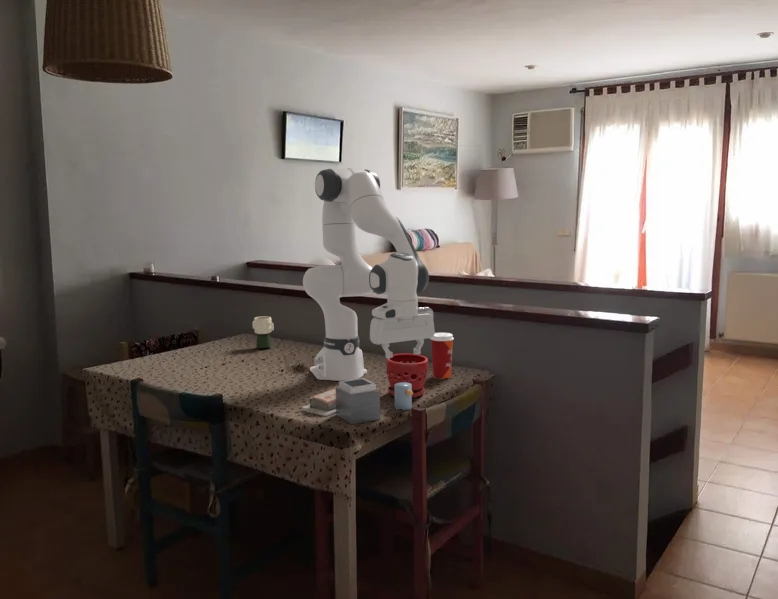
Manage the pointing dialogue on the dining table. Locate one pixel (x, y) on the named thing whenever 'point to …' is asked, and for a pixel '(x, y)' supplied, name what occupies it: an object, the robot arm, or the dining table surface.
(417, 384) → the plant pot
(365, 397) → the grey hollow box
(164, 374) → the dining table surface
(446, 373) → the coffee cup
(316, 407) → the packaged product
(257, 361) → the dining table surface
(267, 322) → the character mug
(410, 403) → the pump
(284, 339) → the dining table surface
